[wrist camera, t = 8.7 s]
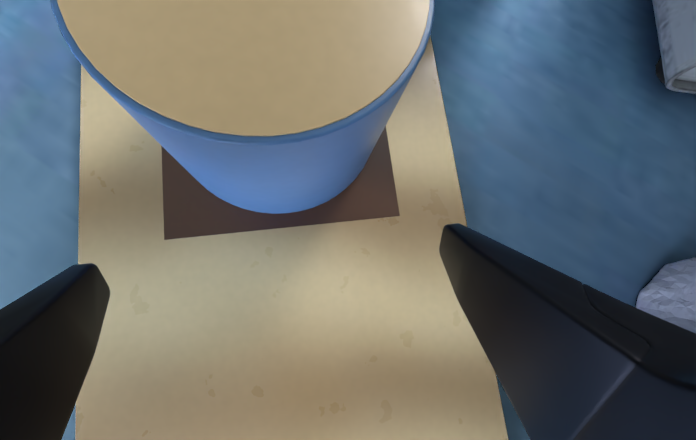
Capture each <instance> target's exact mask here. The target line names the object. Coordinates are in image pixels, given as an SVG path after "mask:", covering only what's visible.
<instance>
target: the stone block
mask: <svg viewBox="0 0 696 440" xmlns="http://www.w3.org/2000/svg"><path fill="white" fill-rule="evenodd" d="M636 308H637V309H640V310H642V311H644V312H647V313H649V314H651V315H654V316H656V317H658V318H661V319H663V320H665V321H668V322H670V323H672V324H675V325H677V326H679V327H682V328H684V329H687V330H689V331H691V332H694V333H696V257H693V258H692V259H685V260H680V261H678V262H675V263H669V264H666V265H665V266H663V268H662V269H661V270H660V271H659V272H658V274H657V275H656V276H655V277H654V278H653V279H652V280H651V282H650V283H649V284H648V285H647V286H646V287H645V288H643V289H642V290H641V291H640V292H639V295H638V298H637V303H636Z"/></svg>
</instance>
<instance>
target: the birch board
mask: <svg viewBox="0 0 696 440" xmlns="http://www.w3.org/2000/svg"><path fill="white" fill-rule="evenodd" d="M454 223H460V224H462V225H464V226H466V227H467V222H466V217H465V211H464V206H463V201H462V196H461V191H460V186H459V180H458V175H457V170H456V165H455V160H454V155H453V149H452V144H451V139H450V134H449V129H448V123H447V118H446V113H445V108H444V103H443V98H442V92H441V87H440V82H439V77H438V72H437V66H436V61H435V56H434V51H433V46H432V41H431V35H430V37H429V40H428V43H427V46H426V49H425V52H424V54H423V56H422V58H421V59H420V61H419V63H418V65H417V67H416V69H415V71H414V73H413V75H412V76H411V78H410V80H409V82H408V84H407V86H406V88H405V90H404V92H403V94H402V95H401V97H400V99H399V101H398V103H397V105H396V107H395V109H394V111H393V113H392V114H391V116H390V118H389V120H388V122H387V124H386V126H385V128H384V130H383V132H382V133H381V135H380V137H379V139H378V141H377V143H376V145H375V147H374V149H373V151H372V152H371V154H370V156H369V158H368V160H367V162H366V164H365V166H364V168H363V169H362V171H361V172H360V173H359V175H358V176H357V178H356V179H355V180H354V181H353V182H352V183H351V184H350V185H349V186H348V187H347V188H346V189H345V190H343V191H342V192H341V193H340V194H338V195H337V196H335V197H334V198H332V199H330V200H329V201H327V202H325V203H323V204H320V205H318V206H316V207H313V208H310V209H306V210H303V211H298V212H292V213H279V214H271V213H261V212H255V211H251V210H246V209H243V208H240V207H237V206H235V205H232V204H230V203H228V202H226V201H224V200H222V199H220V198H218V197H217V196H215V195H214V194H213V193H211V192H210V191H208V190H207V189H206V188H205V187H204V186H203V185H201V184H200V183H199V182H198V181H197V180H196V179H195V178H194V177H193V176H192V175H191V174H190V173H189V172H188V171H187V170H186V169H185V168H184V167H183V166H182V165H181V164H180V163H179V162H178V161H177V160H176V159H175V158H174V157H173V156H172V155H171V154H170V153H169V152H168V151H167V150H166V149H165V148H163V147H162V146H161V145H160V144H159V143H158V142H157V141H156V140H155V139H154V138H153V137H152V136H151V135H150V134H149V133H148V132H147V131H146V130H145V129H144V128H143V127H142V126H141V125H140V124H139V123H138V122H137V121H136V120H135V119H134V118H133V117H132V116H131V115H130V114H129V113H128V112H127V111H126V110H125V109H124V108H123V107H122V106H121V105H120V104H119V103H118V102H117V101H116V100H115V99H114V98H113V97H112V96H111V95H110V94H109V93H107V92H106V91H105V90H104V89H103V88H102V87H101V86H100V85H99V84H98V83H97V82H96V81H95V80H94V79H93V78H92V77H91V76H90V74H89V73H88V72H87V71H86V69H85V68H84V67H83V66H82V65H81V109H80V173H79V237H78V264H87V263H93V264H95V265H97V267H98V268H99V270H100V271H101V273H102V275H103V277H104V279H105V280H106V282H107V284H108V286H109V288H110V298H109V302H108V306H107V310H106V314H105V317H104V321H103V325H102V329H101V333H100V336H99V340H98V344H97V347H96V351H95V354H94V357H93V359H92V362H91V365H90V367H89V370H88V373H87V375H86V378H85V380H84V383H83V385H82V388H81V390H80V393H79V395H78V398H77V401H76V428H75V440H509V439H508V434H507V429H506V424H505V419H504V414H503V408H502V403H501V398H500V393H499V388H498V382H497V377H496V373H495V371H494V369H493V367H492V365H491V363H490V361H489V359H488V357H487V355H486V354H485V352H484V350H483V348H482V346H481V344H480V342H479V340H478V338H477V336H476V335H475V333H474V331H473V329H472V327H471V325H470V323H469V321H468V319H467V317H466V315H465V314H464V312H463V310H462V308H461V306H460V304H459V302H458V300H457V297H456V295H455V293H454V290H453V288H452V285H451V282H450V280H449V277H448V275H447V272H446V269H445V267H444V264H443V262H442V259H441V257H440V253H439V246H440V241H441V236H442V231H443V228H444V226H445V225H446V224H454Z"/></svg>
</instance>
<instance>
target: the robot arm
mask: <svg viewBox="0 0 696 440" xmlns="http://www.w3.org/2000/svg"><path fill="white" fill-rule="evenodd" d="M439 253H440V257H441V259H442V262H443V264H444V267H445V269H446V272H447V275H448V277H449V280H450V282H451V285H452V288H453V290H454V293H455V295H456V297H457V300H458V302H459V304H460V306H461V308H462V310H463V312H464V314H465V315H466V317H467V319H468V321H469V323H470V325H471V327H472V329H473V331H474V333H475V335H476V336H477V338H478V340H479V342H480V344H481V346H482V348H483V350H484V352H485V354H486V355H487V357H488V359H489V361H490V363H491V365H492V367H493V369H494V371H495V373H496V375H497V376H498V378H499V380H500V382H501V384H502V386H503V388H504V390H505V392H506V394H507V396H508V397H509V399H510V401H511V403H512V405H513V407H514V409H515V411H516V413H517V415H518V416H519V418H520V420H521V422H522V424H523V426H524V428H525V430H526V432H527V434H528V436H529V437H530V439H531V440H696V333H694V332H691V331H689V330H687V329H684V328H682V327H679V326H677V325H675V324H672V323H670V322H668V321H665V320H663V319H661V318H658V317H656V316H654V315H651V314H649V313H647V312H644V311H642V310H640V309H637V308H635V307H633V306H631V305H628V304H626V303H624V302H622V301H619V300H617V299H615V298H613V297H611V296H609V295H607V294H605V293H602V292H600V291H598V290H596V289H594V288H592V287H590V286H588V285H586V284H583V285H582V283H581V282H580V281H578V280H575V279H573V278H571V277H569V276H567V275H565V274H563V273H561V272H559V271H557V270H555V269H553V268H551V267H549V266H547V265H544V264H542V263H540V262H538V261H536V260H534V259H532V258H530V257H528V256H526V255H524V254H522V253H520V252H518V251H516V250H514V249H511V248H509V247H507V246H505V245H503V244H501V243H499V242H497V241H495V240H493V239H491V238H489V237H487V236H485V235H483V234H480V233H478V232H476V231H474V230H472V229H470V228H468V227H466V226H464V225H462V224H460V223H454V224H446V225H445V226H444V228H443V231H442V236H441V241H440V246H439ZM109 298H110V288H109V286H108V284H107V282H106V280H105V279H104V277H103V275H102V273H101V271H100V270H99V268H98V267H97V265H95V264H93V263H87V264H78V265H73V266H71V267H69V268H68V269H66V270H64V271H63V272H61V273H60V274H58V275H56V276H55V277H53V278H51V279H50V280H48V281H46V282H45V283H43V284H42V285H40V286H38V287H37V288H35V289H33V290H32V291H30V292H28V293H27V294H25V295H24V296H22V297H20V298H19V299H17V300H15V301H14V302H12V303H10V304H9V305H7V306H6V307H4V308H2V309H1V310H0V440H61V439H62V436H63V434H64V431H65V429H66V426H67V424H68V421H69V418H70V416H71V413H72V411H73V408H74V406H75V403H76V401H77V398H78V395H79V393H80V390H81V388H82V385H83V383H84V380H85V378H86V375H87V373H88V370H89V367H90V365H91V362H92V359H93V357H94V354H95V351H96V347H97V344H98V340H99V336H100V333H101V329H102V325H103V321H104V317H105V314H106V310H107V306H108V302H109Z"/></svg>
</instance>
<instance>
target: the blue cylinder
mask: <svg viewBox="0 0 696 440" xmlns="http://www.w3.org/2000/svg"><path fill="white" fill-rule="evenodd" d="M50 2H51V6H52V10H53V13H54V16H55V18H56V21H57V23H58V26H59V28H60V31H61V33H62V35H63V37H64V39H65V41H66V42H67V44H68V46H69V47H70V49H71V51H72V52H73V54H74V56H75V57H76V58H77V60H78V61H79V62H80V63H81V65H82V66H83V67H84V68H85V69H86V71H87V72H88V73H89V74H90V76H91V77H92V78H93V79H94V80H95V81H96V82H97V83H98V84H99V85H100V86H101V87H102V88H103V89H104V90H105V91H106V92H107V93H109V94H110V95H111V96H112V97H113V98H114V99H115V100H116V101H117V102H118V103H119V104H120V105H121V106H122V107H123V108H124V109H125V110H126V111H127V112H128V113H129V114H130V115H131V116H132V117H133V118H134V119H135V120H136V121H137V122H138V123H139V124H140V125H141V126H142V127H143V128H144V129H145V130H146V131H147V132H148V133H149V134H150V135H151V136H152V137H153V138H154V139H155V140H156V141H157V142H158V143H159V144H160V145H161V146H162V147H163V148H165V149H166V150H167V151H168V152H169V153H170V154H171V155H172V156H173V157H174V158H175V159H176V160H177V161H178V162H179V163H180V164H181V165H182V166H183V167H184V168H185V169H186V170H187V171H188V172H189V173H190V174H191V175H192V176H193V177H194V178H195V179H196V180H197V181H198V182H199V183H200V184H201V185H203V186H204V187H205V188H206V189H207V190H208V191H210V192H211V193H213V194H214V195H215V196H217V197H218V198H220V199H222V200H224V201H226V202H228V203H230V204H232V205H235V206H237V207H240V208H243V209H246V210H251V211H255V212H261V213H271V214H279V213H292V212H298V211H303V210H306V209H310V208H313V207H316V206H318V205H320V204H323V203H325V202H327V201H329V200H330V199H332V198H334V197H335V196H337V195H338V194H340V193H341V192H342V191H343V190H345V189H346V188H347V187H348V186H349V185H350V184H351V183H352V182H353V181H354V180H355V179H356V178H357V176H358V175H359V173H360V172H361V171H362V169H363V168H364V166H365V164H366V162H367V160H368V158H369V156H370V154H371V152H372V151H373V149H374V147H375V145H376V143H377V141H378V139H379V137H380V135H381V133H382V132H383V130H384V128H385V126H386V124H387V122H388V120H389V118H390V116H391V114H392V113H393V111H394V109H395V107H396V105H397V103H398V101H399V99H400V97H401V95H402V94H403V92H404V90H405V88H406V86H407V84H408V82H409V80H410V78H411V76H412V75H413V73H414V71H415V69H416V67H417V65H418V63H419V61H420V59H421V58H422V56H423V54H424V52H425V49H426V46H427V43H428V40H429V37H430V34H431V30H432V25H433V19H434V11H435V0H50Z"/></svg>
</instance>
